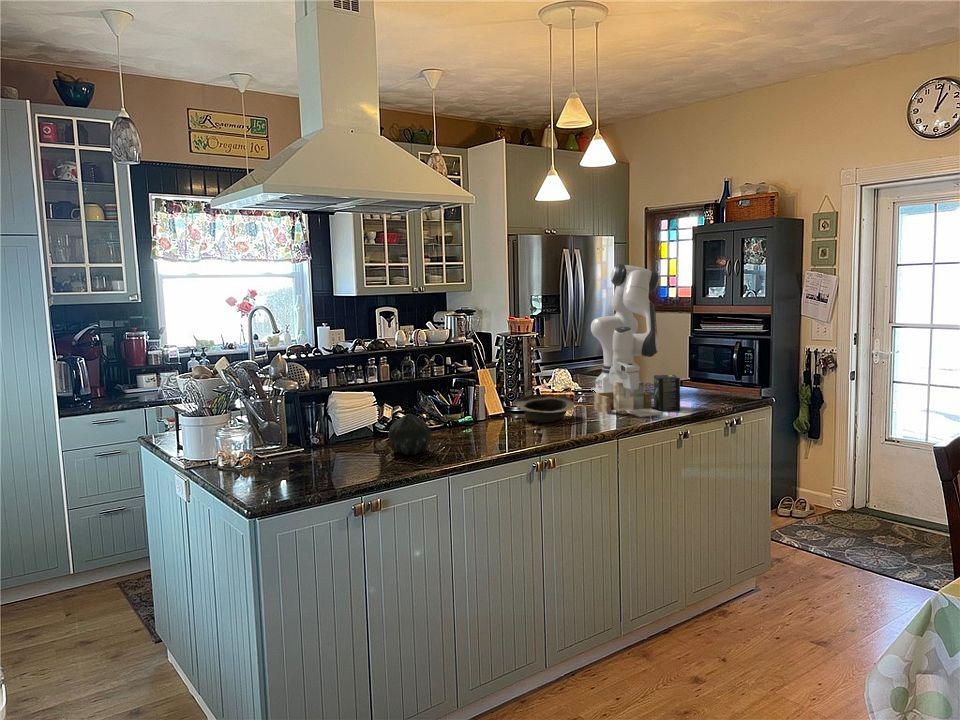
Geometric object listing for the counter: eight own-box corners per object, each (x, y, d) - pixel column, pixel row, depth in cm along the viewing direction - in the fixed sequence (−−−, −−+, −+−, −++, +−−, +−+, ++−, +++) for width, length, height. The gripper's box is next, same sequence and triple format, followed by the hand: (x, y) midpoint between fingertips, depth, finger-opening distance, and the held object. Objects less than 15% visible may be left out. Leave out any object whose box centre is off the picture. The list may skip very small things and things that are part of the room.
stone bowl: (541, 411, 323) (542, 390, 321) (586, 422, 305) (587, 400, 304) (502, 419, 306) (503, 397, 304) (548, 431, 288) (549, 408, 287)
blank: (613, 409, 311) (613, 381, 310) (628, 407, 313) (627, 380, 312) (618, 410, 307) (618, 382, 306) (633, 409, 309) (633, 381, 308)
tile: (626, 412, 315) (626, 410, 315) (649, 410, 318) (649, 407, 318) (639, 416, 304) (639, 414, 304) (662, 414, 308) (662, 412, 308)
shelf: (593, 408, 325) (593, 382, 324) (636, 404, 332) (636, 378, 330) (607, 413, 313) (606, 386, 311) (651, 409, 319) (651, 382, 318)
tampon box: (680, 410, 315) (680, 377, 313) (659, 411, 315) (659, 378, 313) (674, 406, 326) (674, 374, 324) (653, 406, 326) (653, 374, 324)
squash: (411, 429, 266) (393, 404, 257) (444, 435, 258) (426, 409, 248) (393, 461, 259) (373, 436, 249) (425, 468, 251) (406, 442, 241)
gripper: (605, 363, 317) (605, 394, 319) (628, 368, 298) (628, 401, 299) (618, 362, 319) (618, 393, 320) (641, 367, 299) (642, 400, 301)
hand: (623, 397), depth 310 cm, fingers closed on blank, 4 cm apart
